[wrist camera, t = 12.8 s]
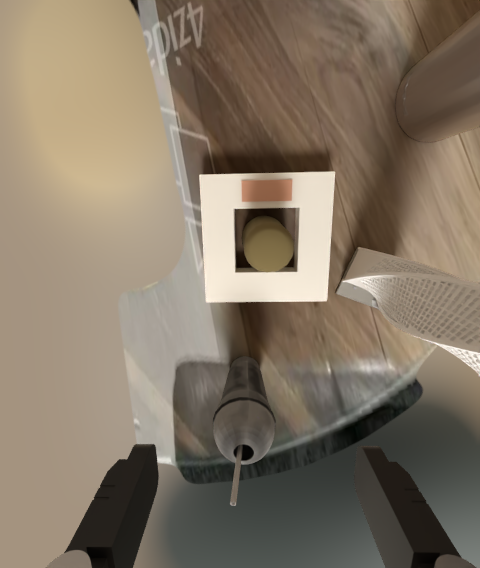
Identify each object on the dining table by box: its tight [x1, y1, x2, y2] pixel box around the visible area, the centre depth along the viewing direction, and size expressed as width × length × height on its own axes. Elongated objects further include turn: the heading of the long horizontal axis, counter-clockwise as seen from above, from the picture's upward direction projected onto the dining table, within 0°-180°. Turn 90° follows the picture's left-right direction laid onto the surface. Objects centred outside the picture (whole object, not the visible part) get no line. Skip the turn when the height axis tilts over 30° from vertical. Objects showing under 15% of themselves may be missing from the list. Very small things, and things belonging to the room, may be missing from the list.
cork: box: [242, 216, 294, 273], centre depth 33 cm, size 6×6×11 cm
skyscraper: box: [335, 247, 480, 377], centre depth 26 cm, size 8×8×28 cm
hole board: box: [199, 172, 335, 302], centre depth 37 cm, size 16×16×3 cm
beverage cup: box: [213, 357, 276, 506], centre depth 34 cm, size 7×7×20 cm
